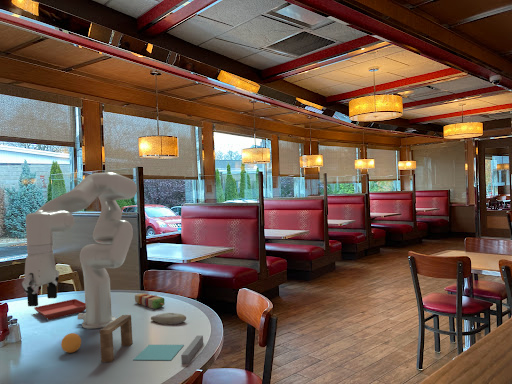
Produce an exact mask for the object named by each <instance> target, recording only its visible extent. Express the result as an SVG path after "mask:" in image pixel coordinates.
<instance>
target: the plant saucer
mask: <svg viewBox="0 0 512 384" xmlns="http://www.w3.org/2000/svg"><path fill="white" fill-rule="evenodd" d="M33 309H34V311H36V312H37V314H40V315H41V316H42V317H43V318H45V319H46V320H53V319H58V318H63V317H66V316H71V315H74V314H79V313H83V312H85V311H86V308H85V301H81V300H79V299H77V298H72V299H68V300H63V301H58V302H54V303H50V304H45V305H38V306H34V307H33Z"/></svg>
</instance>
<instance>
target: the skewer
mask: <svg viewBox="0 0 512 384" xmlns="http://www.w3.org/2000/svg"><path fill="white" fill-rule="evenodd" d="M134 301H135V303H136V304H139V305H142V306H144V307H147V308H150V309H154V310H155V309H159V308H161V307H163V306H165V303H166V302H165V298H164V297H161V296H159V295H157V294H155V295H154V294H149V293H138V294H135V295H134Z"/></svg>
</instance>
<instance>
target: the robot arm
mask: <svg viewBox="0 0 512 384" xmlns="http://www.w3.org/2000/svg"><path fill="white" fill-rule="evenodd" d="M137 192H138V187H137V185H136V183H135V181H134V180H133V179H131V178H129V177H127V176H124V175H121V174H119V173H115V172H111V171H109V172H108V171H107V172H95V173H91V174H89V175H87V176H85V177H84V179H82V180H81V181H80V182H79V183H78V184H77V185H75V186H74V188H72V189H71V190H70V191H68V192H65V193H63V194H62V195H61V194H60V195H59V196H56V197H55V198H53V199H51V200H49V201H47V202H46V203H44V204H43V205H42V206H41V207H39V208H38V209H37V210H36V211H35V212H31V213H28V214H26V216H25V229H26V231H25V232H26V248H27V249H26V250H27V256H26V257H25V263H24V279H23V281H22V282H21V285H22V287H23V290H24V292H25V294H26V295H27V306H28V307H39V295H38V292H37V291H38V289H39V287H43V286H45V285H47V286H46V292H47V293H46V295H47V299H57V297H58V289H57V286H59V285H58V282H59V276H60V271H59V270H57V268H56V261H55V259H56V258H55V255H54V243H53V233H65V232H68V231H70V230H71V229H72V228H73V227H74V225H75V217H74V215H73V214H72V213H77V212H79V211H80V212H81V211H83V210H85V209H87V208H89V206H91V204H92V203H93V202H95V200H96V199H97V198H98V199H99V202H100V207H101V209H100V213H99V217H98V219H97V221H96V224H95V226H94V229H93V232H92V239H93V241H94V242H96V243H90V244H86V245H85V246H83V247H82V248H81V250H80V253H79V261H80V265H81V266H80V267H81V269H82V274H83V284H84V288H83V289H84V303H85V308H86V309H85V313H83V312H80V313H77V314H78V315H77V320H83V321H82V323H81V326H82V327H83V328H84V329H87V330H94V329H95V330H96V329H102V328H104V327H105V326H107V325H108V324H110V323H111V322H113V321H114V320H116V319H117V318H116V317H115V316H113V315H112V314H113V313H112V297H111V295H112V294H111V279H110V275H109V273H108V270H107V269H117V268H120V267H122V265H123V264H124V262H126V258H127V254H128V252H129V249H130V246H131V244H132V240H133V237H134V235H133V234H134V230H133V225H132V224H131V223H130V221H128V220H125V219H122V217H123V211H122V209H121V207H120V206H119V204H118V202H117V200H118V201H120V200H122V201H123V200H131V199H133V198H134V197H135V196H136V195H137Z"/></svg>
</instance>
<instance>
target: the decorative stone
mask: <svg viewBox="0 0 512 384" xmlns="http://www.w3.org/2000/svg"><path fill="white" fill-rule="evenodd" d="M150 320H151V321H153V322H155V323H158V324H161V325H162V324H163V325H178V324H183V323H184V322H186V320H187V316H186V315H185V314H181V313H176V312H165V313H160V314H159V313H158V314H156V315H153V316H151V317H150Z"/></svg>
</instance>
